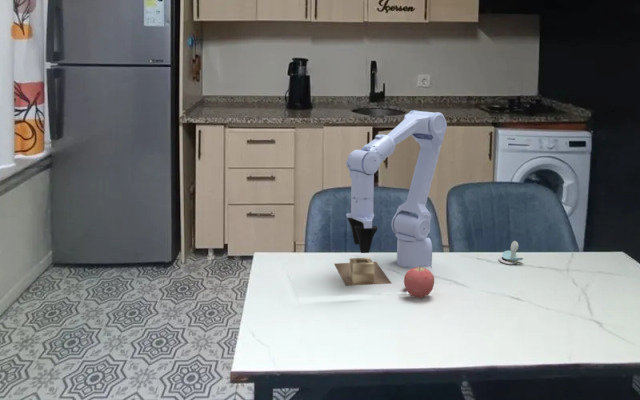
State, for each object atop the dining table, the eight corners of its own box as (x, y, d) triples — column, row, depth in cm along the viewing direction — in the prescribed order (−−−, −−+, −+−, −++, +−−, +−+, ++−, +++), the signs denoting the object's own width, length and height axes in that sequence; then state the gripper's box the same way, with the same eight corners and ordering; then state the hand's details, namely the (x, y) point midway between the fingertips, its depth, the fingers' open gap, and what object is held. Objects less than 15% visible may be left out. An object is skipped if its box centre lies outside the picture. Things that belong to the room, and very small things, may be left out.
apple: (410, 289, 173) (411, 259, 172) (437, 294, 170) (439, 264, 168) (398, 298, 167) (399, 267, 165) (426, 303, 163) (427, 272, 162)
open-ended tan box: (369, 275, 179) (369, 257, 178) (373, 282, 174) (374, 263, 173) (349, 276, 178) (349, 258, 177) (353, 283, 173) (353, 264, 172)
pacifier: (505, 267, 192) (525, 265, 193) (506, 246, 190) (526, 244, 191) (494, 259, 199) (513, 257, 200) (495, 238, 197) (514, 237, 198)
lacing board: (375, 266, 191) (376, 246, 190) (391, 288, 174) (392, 266, 172) (334, 268, 189) (334, 248, 188) (345, 291, 172) (345, 268, 171)
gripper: (341, 191, 178) (341, 240, 181) (352, 204, 164) (352, 257, 167) (367, 190, 179) (367, 239, 182) (380, 202, 165) (379, 255, 168)
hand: (361, 248), depth 175 cm, fingers open, 7 cm apart
